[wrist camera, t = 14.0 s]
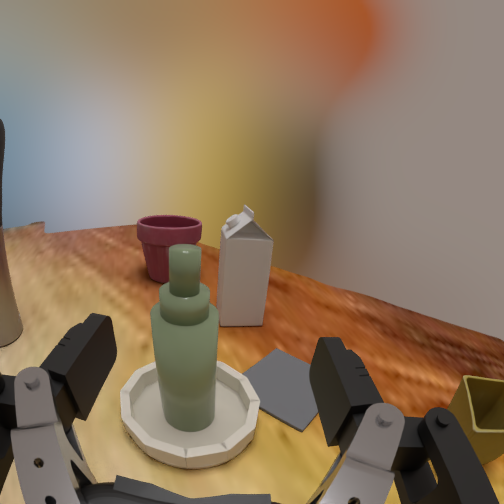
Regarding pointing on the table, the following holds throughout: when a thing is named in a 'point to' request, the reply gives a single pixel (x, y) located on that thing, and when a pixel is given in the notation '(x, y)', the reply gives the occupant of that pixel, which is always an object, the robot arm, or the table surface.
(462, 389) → the flower pot
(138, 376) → the bowl
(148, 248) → the plant pot
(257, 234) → the milk carton
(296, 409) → the mat
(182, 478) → the table surface
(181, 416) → the olive bottle
